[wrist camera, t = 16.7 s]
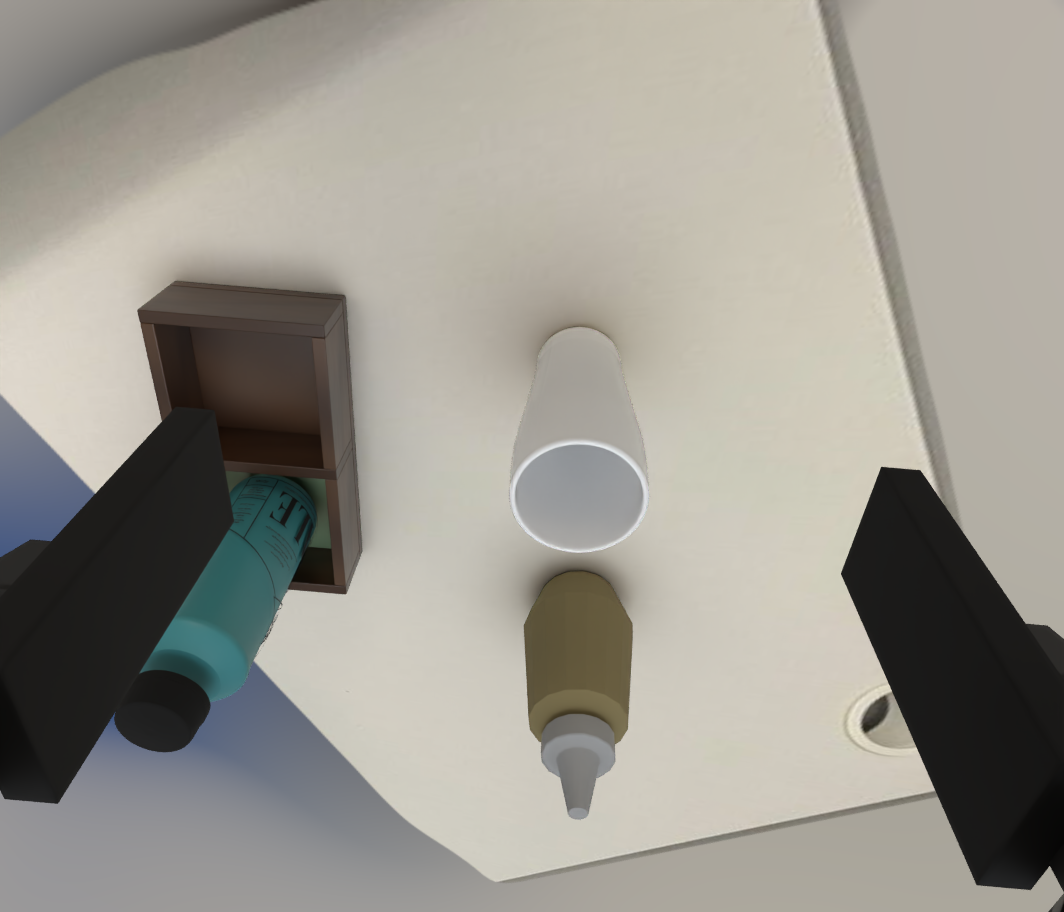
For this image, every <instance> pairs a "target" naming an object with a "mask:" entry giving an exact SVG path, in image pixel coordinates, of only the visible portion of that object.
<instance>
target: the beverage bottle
mask: <svg viewBox="0 0 1064 912" xmlns="http://www.w3.org/2000/svg"><path fill="white" fill-rule="evenodd" d="M229 495H230V500H231V506H232V512H233V517H234V523H233V524H232V526H231V527H230V529H229V531H228V532H227V534H226V535H225V537H224V539H223V540H222V542H221V543H220V545H219V547H218V548H217V550H216V551H215V553H214V555H213V556H212V558H211V559H210V561H209V563H208V564H207V566H206V567H205V569H204V571H203V572H202V574H201V575H200V577H199V579H198V580H197V582H196V583H195V585H194V587H193V588H192V590H191V591H190V593H189V595H188V596H187V598H186V599H185V601H184V603H183V604H182V606H181V607H180V609H179V611H178V612H177V614H176V615H175V617H174V619H173V620H172V622H171V623H170V625H169V627H168V628H167V630H166V631H165V633H164V635H163V636H162V638H161V639H160V641H159V643H158V644H157V646H156V647H155V649H154V651H153V652H152V654H151V655H150V657H149V659H148V660H147V662H146V663H145V665H144V667H143V668H142V670H141V671H140V673H139V675H138V676H137V678H136V679H135V681H134V683H133V684H132V686H131V687H130V689H129V691H128V692H127V694H126V695H125V697H124V699H123V700H122V702H121V703H120V705H119V707H118V708H117V710H116V713H115V717H114V720H115V725H116V727H117V729H118V731H119V732H120V733H121V734H122V735H123V736H124V737H125V738H126V739H127V740H129V741H130V742H132V743H133V744H135V745H137V746H139V747H142V748H145V749H147V750H151V751H157V752H172V751H177V750H180V749H182V748H184V747H185V746H186V745H188V744H189V743H190V741H191V740H192V739H193V737H194V735H195V734H196V732H197V730H198V729H199V727H200V726H201V725H202V723H203V722H204V721H205V719H206V717H207V715H208V713H209V710H210V702H212V701H216V700H220V699H223V698H226V697H228V696H230V695H232V694H234V693H235V692H236V691H238V690H239V689H240V688H241V687H242V686H243V684H244V683H245V681H246V679H247V676H248V673H249V669H250V667H251V665H252V663H253V660H254V658H255V657H256V656H257V655H256V654H257V652H258V650H259V647H260V645H261V644H262V643H263V642H264V641H265V640H264V638H265V637H268V636H269V634H270V633H269V632H268V630H269V628H270V626H271V624H273V620H274V619H275V618H276V619H277V617H278V616H276V617H275V614H276V612H277V610H279V609H278V608H279V606H280V604H281V605H282V603H281V602H282V599H283V597H284V596H285V593H286V591H287V589H288V586H289V584H291V583H292V582H291V580H292V579H293V578H294V577H295V575H296V573H297V571H298V569H299V566H300V564H302V562H303V561H302V560H304V559H303V558H305V557H304V556H306V555H305V554H307V553H306V551H307V550H306V549H307V547H308V546H309V544H310V545H311V543H312V542H311V541H312V539H311V537H312V535H313V536H314V531H315V528H316V523H317V527H318V519H317V513H316V508H315V505H314V502H313V500H312V499H311V497H310V496H309V494H308V493H307V492H306V491H305V490H304V489H303V488H302V487H301V486H299V485H298V484H296V483H295V482H293V481H291V480H289V479H287V478H285V477H281V476H278V475H268V474H259V475H254V476H251V477H248V478H246V479H244V480H243V481H241V482H240V483H238V484H237V485H236V486H235V487H234V488H233V489H232V491H231V492H230V494H229ZM315 532H316V531H315ZM312 538H313V537H312ZM310 539H311V541H310ZM313 539H314V538H313ZM309 541H310V542H311V543H310V542H309ZM307 552H308V551H307ZM303 554H304V555H303ZM302 556H303V557H302ZM300 567H301V566H300ZM295 571H296V572H295ZM294 580H295V579H294ZM290 582H291V583H290ZM290 586H292V585H290ZM290 586H289V587H290ZM290 588H291V587H290ZM290 588H289V589H290ZM289 589H288V590H289ZM281 608H282V607H281ZM281 608H280V609H281ZM274 617H275V618H274ZM275 621H276V620H275ZM273 625H274V624H273ZM270 629H271V630H272V627H271V628H270ZM271 630H270V632H271ZM267 632H268V633H269V634H267ZM266 635H267V636H266ZM265 639H267V638H265ZM263 646H264V645H263ZM261 649H262V648H261ZM259 652H260V651H259Z"/></svg>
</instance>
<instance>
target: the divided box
mask: <svg viewBox="0 0 1064 912" xmlns="http://www.w3.org/2000/svg"><path fill="white" fill-rule="evenodd" d="M138 315H139V320H140V322H141V329H142V333H143V338H144V342H145V347H146V351H147V356H148V360H149V365H150V369H151V374H152V378H153V383H154V387H155V392H156V396H157V401H158V405H159V410H160V414H161V419H162V421H163V420H164V419H165V418H166V417H167V416H168V415H169V413H170V412H171V411H172V410H173V409H174V408H175V407H185V408H197V409H209V410H215V416H216V421H217V427H218V433H219V438H220V444H221V450H222V455H223V461H224V467H225V472H226V478H227V483H228V489H229V494H230V492H231V491H232V489H233V488H234V487H235V486H236V485H237V484H238V483H240V482H241V481H243V480H244V479H246V478H248V477H251V476H254V475H259V474H268V475H278V476H281V477H285V478H287V479H289V480H291V481H293V482H295V483H296V484H298V485H299V486H301V487H302V488H303V489H304V490H305V491H306V492H307V493H308V494H309V496H310V497H311V499H312V500H313V502H314V505H315V508H316V513H317V519H318V527H317V523H316V528H315V531H316V532H315V531H314V536H313V535H312V537H313V538H314V539H313V538H312V537H311V539H312V541H311V539H310V541H311V542H312V543H311V542H310V541H309V542H310V543H311V545H310V544H309V546H308V547H307V549H306V550H307V551H308V552H307V551H306V553H307V554H305V555H306V556H304V557H305V558H303V559H304V560H302V561H303V562H302V564H300V566H301V567H300V566H299V569H298V571H297V573H296V575H295V577H294V578H293V579H292V580H291V582H292V583H291V582H290V583H291V584H289V586H290V585H292V586H290V587H291V588H290V587H289V586H288V589H289V588H290V589H289V590H300V591H312V592H324V593H335V594H347V591H348V588H349V586H350V583H351V580H352V578H353V575H354V572H355V570H356V567H357V564H358V561H359V559H360V556H361V553H362V540H361V524H360V509H359V494H358V479H357V464H356V448H355V433H354V418H353V403H352V388H351V372H350V357H349V342H348V327H347V312H346V297H345V296H344V295H332V294H320V293H309V292H297V291H285V290H273V289H261V288H249V287H238V286H226V285H214V284H202V283H190V282H178V281H175V282H173V283H172V284H171V285H170V286H168V287H167V288H165V289H164V290H163V291H161V292H160V293H159V294H157V295H156V296H155V297H154V298H152V299H151V300H150V301H148V302H147V303H146V304H144V305H143V306H142V307H141V308H139V309H138ZM303 555H304V554H303ZM302 557H303V556H302ZM295 572H296V571H295ZM294 579H295V580H294Z"/></svg>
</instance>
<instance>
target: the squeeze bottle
mask: <svg viewBox="0 0 1064 912" xmlns="http://www.w3.org/2000/svg"><path fill="white" fill-rule="evenodd" d="M524 637H525V657H526V676H527V696H528V716H529V725H530V730H531V732H532V733H533V734H534V736H535V737H536V738H537V740H538V741H539V742H541V758H542V763H543V764H544V765H545V767H546V768H547V769H548V770H549V771H550V772H552V773H553V774H555V775H557V776H558V777H560V778H561V783H562V788H563V792H564V797H565V802H566V806H567V811H568V815H569V816H570V817H571V818H573V819H584V818H586V817H587V816H588V813H589V808H590V804H591V799H592V795H593V790H594V786H595V781H596V778H598V777H600V776H602V775H604V774H605V773H607V772H608V771H610V769H611V768H612V766H613V765H614V763H615V744H616V743H618V742H619V741H621V739H622V738H623V736H624V734H625V733H626V731H627V730H628V714H629V696H630V677H631V659H632V640H633V631H632V622H631V620H630V618H629V616H628V615H627V613H626V611H625V609H624V608H623V606H622V604H621V602H620V600H619V599H618V597H617V595H616V593H615V592H614V590H613V588H612V586H611V585H610V583H609V582H607V581H606V580H604V579H603V578H602V577H600V576H599V575H595V574H592V573H588V572H585V571H576V572H567V573H564V574H561V575H558V576H555V577H554V578H553V579H552V580H550V581H549V582H548V583H547V584H546V585H545V586H544V588H543V590H542V592H541V593H540V595H539V597H538V599H537V600H536V602H535V604H534V606H533V607H532V609H531V611H530V613H529V615H528V617H527V620H526V622H525V624H524Z"/></svg>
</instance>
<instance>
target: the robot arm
mask: <svg viewBox="0 0 1064 912" xmlns="http://www.w3.org/2000/svg"><path fill="white" fill-rule="evenodd" d="M233 523H234V517H233V512H232V506H231V500H230V495H229V489H228V483H227V478H226V472H225V467H224V461H223V455H222V450H221V444H220V438H219V433H218V427H217V421H216V416H215V410H209V409H197V408H185V407H175V408H174V409H173V410H172V411H171V412H170V413H169V415H168V416H167V417H166V418H165V419H164V420H163V421H162V422H161V423H160V424H159V425H158V426H157V428H156V429H155V430H154V431H153V432H152V433H151V434H150V435H149V436H148V437H147V438H146V440H145V441H144V442H143V443H142V444H141V445H140V446H139V447H138V448H137V449H136V450H135V451H134V453H133V454H132V455H131V456H130V457H129V458H128V459H127V460H126V461H125V462H124V463H123V464H122V466H121V467H120V468H119V469H118V470H117V471H116V472H115V473H114V474H113V475H112V476H111V477H110V479H109V480H108V481H107V482H106V483H105V484H104V485H103V486H102V487H101V488H100V489H99V490H98V492H97V493H96V494H95V495H94V496H93V497H92V498H91V499H90V500H89V501H88V502H87V504H86V505H85V506H84V507H83V508H82V509H81V510H80V511H79V512H78V513H77V514H76V515H75V516H74V518H73V519H72V520H71V521H70V522H69V523H68V524H67V525H66V526H65V527H64V528H63V530H62V531H61V532H60V533H59V534H58V535H57V536H56V537H55V538H54V539H53V540H52V541H41V540H29V541H27V542H26V543H24V544H22V545H20V546H19V547H17V548H15V549H14V550H13V551H11V552H9V553H7V554H5V555H4V556H2V557H0V791H1V793H2V795H3V797H4V799H10V800H22V801H33V802H45V803H55V804H58V802H59V801H60V799H61V798H62V796H63V795H64V793H65V792H66V790H67V788H68V787H69V785H70V783H71V782H72V780H73V779H74V777H75V776H76V774H77V772H78V771H79V769H80V768H81V766H82V764H83V763H84V761H85V759H86V758H87V756H88V755H89V753H90V751H91V750H92V748H93V747H94V745H95V744H96V742H97V740H98V739H99V737H100V735H101V734H102V732H103V731H104V729H105V727H106V726H107V724H108V723H109V721H110V719H111V718H112V716H113V715H114V713H115V711H116V710H117V708H118V707H119V705H120V703H121V702H122V700H123V699H124V697H125V695H126V694H127V692H128V691H129V689H130V687H131V686H132V684H133V683H134V681H135V679H136V678H137V676H138V675H139V673H140V671H141V670H142V668H143V667H144V665H145V663H146V662H147V660H148V659H149V657H150V655H151V654H152V652H153V651H154V649H155V647H156V646H157V644H158V643H159V641H160V639H161V638H162V636H163V635H164V633H165V631H166V630H167V628H168V627H169V625H170V623H171V622H172V620H173V619H174V617H175V615H176V614H177V612H178V611H179V609H180V607H181V606H182V604H183V603H184V601H185V599H186V598H187V596H188V595H189V593H190V591H191V590H192V588H193V587H194V585H195V583H196V582H197V580H198V579H199V577H200V575H201V574H202V572H203V571H204V569H205V567H206V566H207V564H208V563H209V561H210V559H211V558H212V556H213V555H214V553H215V551H216V550H217V548H218V547H219V545H220V543H221V542H222V540H223V539H224V537H225V535H226V534H227V532H228V531H229V529H230V527H231V526H232V524H233ZM841 575H842V577H843V580H844V582H845V584H846V586H847V589H848V591H849V593H850V596H851V598H852V600H853V602H854V605H855V607H856V609H857V612H858V614H859V616H860V619H861V621H862V623H863V625H864V628H865V630H866V632H867V635H868V637H869V639H870V641H871V644H872V646H873V648H874V651H875V653H876V655H877V658H878V660H879V662H880V664H881V667H882V669H883V671H884V674H885V676H886V678H887V680H888V683H889V685H890V687H891V690H892V692H893V694H894V697H895V699H896V701H897V703H898V706H899V708H900V710H901V713H902V715H903V717H904V719H905V722H906V724H907V726H908V729H909V731H910V733H911V736H912V738H913V740H914V742H915V745H916V747H917V749H918V752H919V754H920V756H921V758H922V761H923V763H924V765H925V768H926V770H927V772H928V775H929V777H930V779H931V781H932V784H933V786H934V788H935V791H936V793H937V795H938V797H939V800H940V802H941V804H942V807H943V809H944V811H945V813H946V816H947V818H948V820H949V823H950V825H951V827H952V830H953V832H954V834H955V836H956V839H957V841H958V843H959V846H960V848H961V850H962V852H963V855H964V857H965V859H966V862H967V864H968V866H969V869H970V871H971V873H972V875H973V878H974V880H975V882H976V885H981V886H993V887H1003V888H1015V889H1026V890H1031V889H1032V888H1033V886H1034V885H1035V884H1036V883H1037V881H1038V880H1039V878H1040V877H1041V876H1042V875H1043V874H1044V872H1045V871H1046V870H1047V869H1048V867H1049V866H1050V867H1051V868H1052V871H1053V872H1054V874H1055V876H1056V878H1057V880H1058V882H1059V884H1060V886H1061V888H1062V889H1063V891H1064V639H1063V638H1062V637H1061V636H1059V635H1058V634H1057V633H1056V632H1055V631H1053V630H1052V629H1051V628H1050V627H1048V626H1045V625H1034V624H1025V622H1024V621H1023V619H1022V618H1021V616H1020V615H1019V613H1018V612H1017V611H1016V609H1015V608H1014V606H1013V605H1012V604H1011V602H1010V600H1009V599H1008V597H1007V596H1006V594H1005V593H1004V592H1003V590H1002V589H1001V587H1000V586H999V584H998V583H997V581H996V580H995V578H994V577H993V576H992V574H991V573H990V571H989V570H988V568H987V567H986V565H985V564H984V562H983V561H982V560H981V558H980V557H979V555H978V554H977V552H976V551H975V549H974V548H973V546H972V545H971V543H970V542H969V541H968V539H967V538H966V536H965V535H964V533H963V532H962V530H961V529H960V527H959V526H958V524H957V523H956V521H955V520H954V519H953V517H952V516H951V514H950V513H949V511H948V510H947V508H946V507H945V505H944V504H943V503H942V501H941V500H940V498H939V497H938V495H937V494H936V492H935V491H934V489H933V488H932V486H931V485H930V484H929V482H928V481H927V479H926V478H925V476H924V475H923V473H922V472H921V470H911V469H899V468H888V467H881V469H880V472H879V474H878V477H877V480H876V482H875V485H874V488H873V490H872V493H871V496H870V498H869V501H868V503H867V506H866V509H865V511H864V514H863V517H862V519H861V522H860V525H859V527H858V530H857V533H856V535H855V538H854V541H853V543H852V546H851V548H850V551H849V554H848V556H847V559H846V562H845V564H844V567H843V570H842V572H841ZM1049 912H1064V894H1063V895H1062V896H1061V897H1060V898H1059V900H1058V901H1057V902H1056V903H1055V905H1054V906H1053V907H1052V908H1051V909H1050V910H1049Z"/></svg>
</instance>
